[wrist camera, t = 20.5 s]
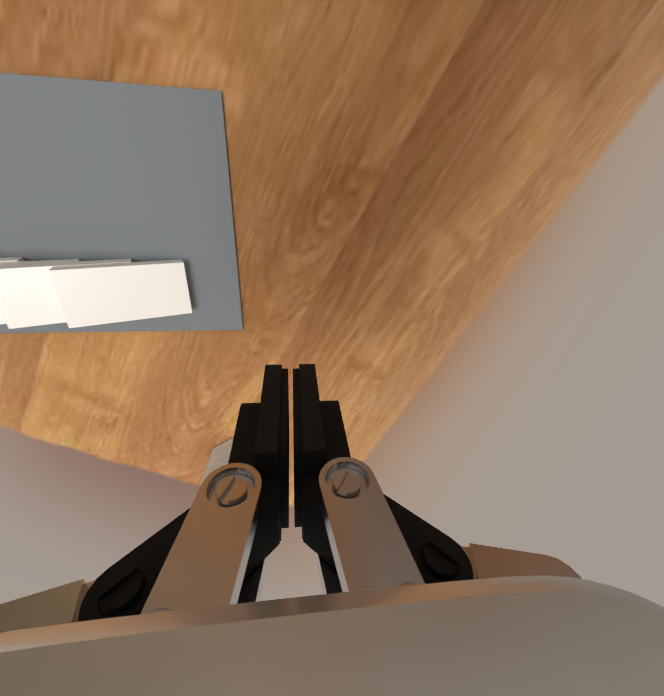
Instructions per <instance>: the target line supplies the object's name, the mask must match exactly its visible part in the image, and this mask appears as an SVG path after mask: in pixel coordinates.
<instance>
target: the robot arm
mask: <svg viewBox="0 0 664 696" xmlns="http://www.w3.org/2000/svg"><path fill="white" fill-rule="evenodd" d="M293 426H294V509H295V527H302V538H303V541H304V543H306V544H307V545H308V546H309V547H310V548H311V549H313V550H314V551H315V552H316V562H317V567H318V571H319V576H320V581H321V586H322V590H323V595H314V596H305V597H296V598H286V599H277V600H268V601H260V597H261V592H262V587H263V582H264V577H265V572H266V567H267V556H268V555H269V554H270V553H271V552H272V551H273V550H274V549H275V548H276V547H277V546H278V545H279V543H280V541H281V528H288V527H289V400H288V369H282V365H266V366H265V373H264V380H263V388H262V395H261V403H242V404H241V407H240V411H239V416H238V420H237V425H236V429H235V434H234V438H233V443H232V448H231V452H230V457H229V461H228V464H227V465H223V466H221V467H219V468H217V469H215V470H214V471H212V472H211V473H210V474H209V475H208V476H207V477H206V478H205V480H204V481H203V483H202V484H201V486H200V489H199V491H198V493H197V495H196V497H195V499H194V501H193V503H192V506H191V508H189V509H188V510H187V511H185V512H184V513H183V514H181V515H180V516H178V517H177V518H176V519H174V520H173V521H172V522H170V523H169V524H168V525H166V526H165V527H164V528H162V529H161V530H160V531H158V532H157V533H156V534H154V535H153V536H151V537H150V538H149V539H147V540H146V541H145V542H144V543H142V544H141V545H140V546H138V547H137V548H135V549H134V550H133V551H131V552H130V553H129V554H127V555H126V556H124V557H123V558H122V559H121V560H119V561H118V562H116V563H115V564H114V565H112V566H111V567H110V568H108V569H107V570H106V571H105V572H104V573H103V574H102V575H101V576H99V577H98V578H97V579H96V580H95V581H92V582H89V583H85V581H84V579H82V580H79V581H75V582H72V583H69V584H65V585H62V586H59V587H55V588H52V589H49V590H46V591H42V592H39V593H36V594H32V595H29V596H26V597H22V598H19V599H16V600H13V601H9V602H6V603H3V604H0V696H664V607H663V606H661V605H658V604H656V603H654V602H652V601H650V600H648V599H646V598H643V597H641V596H638V595H636V594H633V593H631V592H628V591H624V590H622V589H619V588H616V587H612V586H609V585H605V584H601V583H597V582H594V581H589V580H585V579H582V578H581V577H580V576H579V575H578V574H577V573H576V572H575V571H574V570H573V569H572V568H571V567H570V566H568V565H567V564H565V563H564V562H562V561H560V560H559V559H557V558H554V557H551V556H547V555H542V554H536V553H529V552H523V551H516V550H510V549H503V548H497V547H490V546H483V545H477V544H471V543H470V544H469V547H462V546H460V545H459V544H457V543H456V542H455V541H454V540H453V539H451V538H450V537H449V536H447V535H445V534H444V533H442V532H441V531H439V530H438V529H436V528H435V527H433V526H432V525H430V524H429V523H427V522H426V521H424V520H423V519H421V518H420V517H418V516H416V515H415V514H413V513H412V512H410V511H409V510H407V509H406V508H404V507H403V506H401V505H400V504H398V503H397V502H395V501H393V500H392V499H390V498H389V497H387V496H386V495H384V494H383V492H382V491H381V488H380V486H379V484H378V482H377V480H376V478H375V475H374V474H373V472H372V470H371V469H370V468H369V467H368V466H367V465H366V464H365V463H364V462H362V461H360V460H357V459H355V458H351V457H350V452H349V447H348V443H347V438H346V433H345V429H344V424H343V420H342V415H341V410H340V406H339V402H338V401H320V400H319V393H318V385H317V378H316V370H315V364H299V368H298V369H293Z"/></svg>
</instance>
